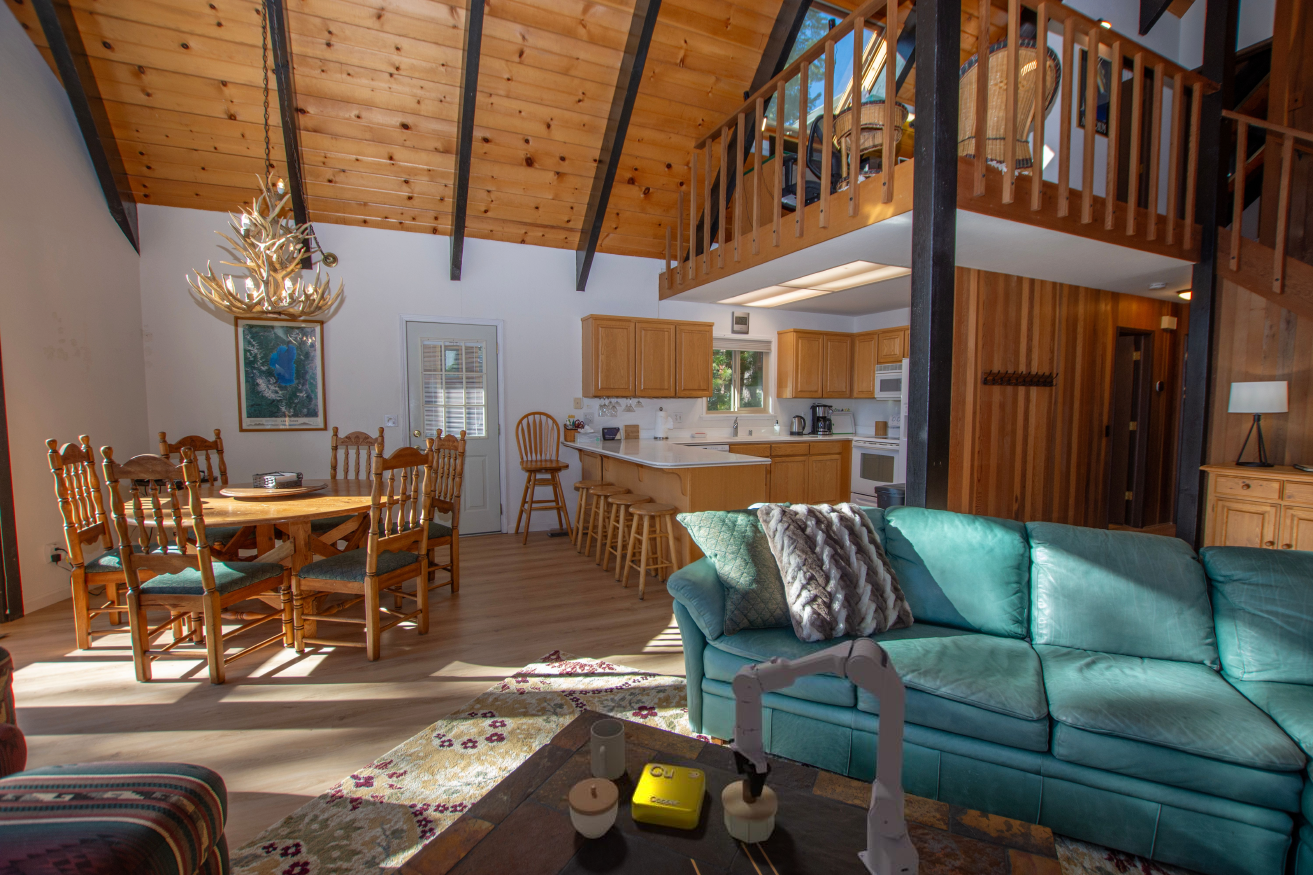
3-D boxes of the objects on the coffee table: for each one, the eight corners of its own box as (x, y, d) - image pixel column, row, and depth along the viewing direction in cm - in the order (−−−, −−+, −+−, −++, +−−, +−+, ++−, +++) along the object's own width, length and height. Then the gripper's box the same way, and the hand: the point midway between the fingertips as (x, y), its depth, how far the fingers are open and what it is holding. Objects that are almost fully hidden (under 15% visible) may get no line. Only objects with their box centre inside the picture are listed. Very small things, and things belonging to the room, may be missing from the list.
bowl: (780, 837, 119) (780, 814, 119) (735, 845, 117) (735, 822, 116) (761, 804, 129) (761, 783, 128) (719, 812, 126) (719, 790, 126)
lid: (787, 816, 118) (787, 797, 118) (733, 826, 115) (733, 806, 115) (764, 779, 130) (763, 761, 129) (714, 788, 127) (714, 770, 127)
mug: (595, 758, 146) (594, 717, 146) (627, 760, 145) (627, 719, 145) (584, 789, 135) (583, 745, 134) (619, 791, 134) (618, 747, 133)
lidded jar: (611, 850, 116) (610, 806, 116) (562, 842, 118) (561, 799, 118) (624, 813, 127) (623, 773, 126) (579, 807, 129) (578, 767, 128)
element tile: (629, 821, 125) (629, 800, 124) (646, 777, 139) (646, 759, 139) (696, 832, 121) (696, 810, 121) (706, 786, 136) (706, 767, 135)
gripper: (720, 708, 128) (720, 766, 128) (743, 745, 114) (744, 810, 114) (749, 704, 129) (749, 761, 130) (776, 740, 115) (776, 804, 116)
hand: (749, 784), depth 122 cm, fingers open, 7 cm apart
